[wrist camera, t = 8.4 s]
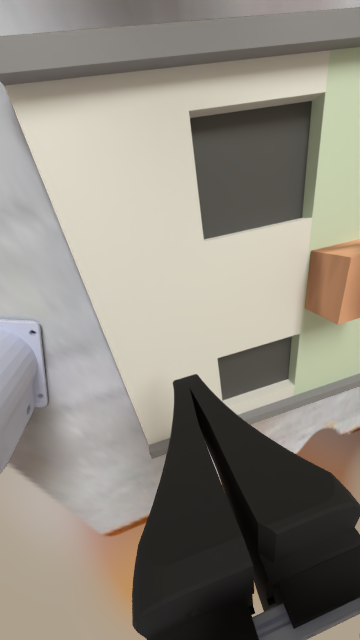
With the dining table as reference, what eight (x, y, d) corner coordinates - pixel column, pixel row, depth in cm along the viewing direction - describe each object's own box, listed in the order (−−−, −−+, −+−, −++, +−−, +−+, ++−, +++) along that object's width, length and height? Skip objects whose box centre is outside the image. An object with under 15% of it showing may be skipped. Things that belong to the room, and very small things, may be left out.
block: (304, 308, 22) (337, 324, 19) (310, 250, 20) (351, 257, 16) (352, 294, 23) (393, 308, 20) (364, 237, 20) (414, 241, 17)
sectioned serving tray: (150, 439, 28) (152, 458, 26) (5, 71, 12) (-22, 37, 10) (374, 364, 32) (392, 374, 30) (484, 23, 16) (540, -8, 14)
